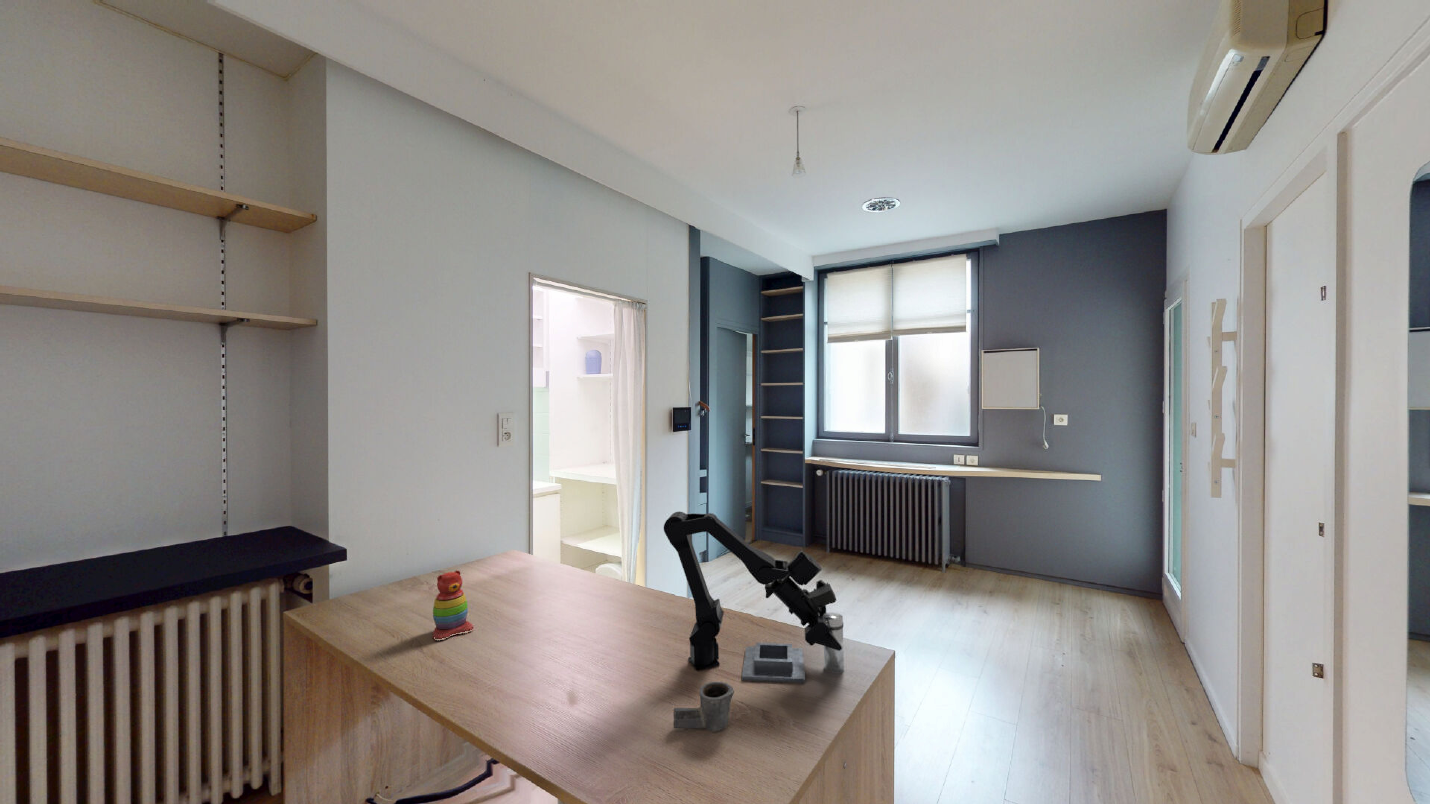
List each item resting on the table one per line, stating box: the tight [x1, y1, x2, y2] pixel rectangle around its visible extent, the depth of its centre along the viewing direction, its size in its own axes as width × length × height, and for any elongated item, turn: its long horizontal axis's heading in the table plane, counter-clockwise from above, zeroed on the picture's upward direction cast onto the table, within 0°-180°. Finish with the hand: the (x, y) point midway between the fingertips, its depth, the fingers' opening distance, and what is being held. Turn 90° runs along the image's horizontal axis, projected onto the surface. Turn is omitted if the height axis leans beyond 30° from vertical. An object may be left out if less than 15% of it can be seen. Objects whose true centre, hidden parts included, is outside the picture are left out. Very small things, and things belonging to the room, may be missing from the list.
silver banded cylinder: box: [823, 611, 845, 674], centre depth 130 cm, size 5×5×13 cm
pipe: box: [672, 681, 735, 733], centre depth 108 cm, size 6×13×8 cm, turn 95°
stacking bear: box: [432, 570, 474, 639], centre depth 157 cm, size 11×10×18 cm
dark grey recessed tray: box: [741, 642, 806, 684], centre depth 132 cm, size 15×15×4 cm
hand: (839, 642), depth 130 cm, fingers open, 7 cm apart
